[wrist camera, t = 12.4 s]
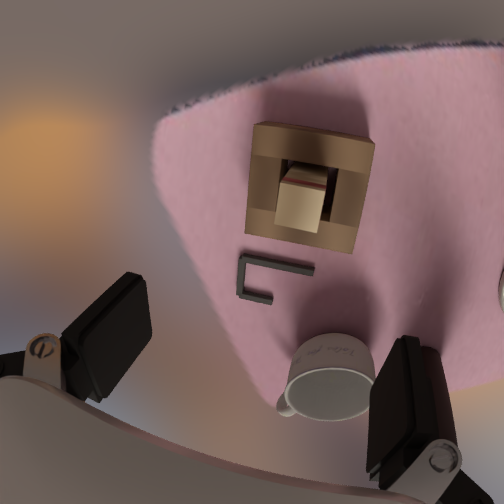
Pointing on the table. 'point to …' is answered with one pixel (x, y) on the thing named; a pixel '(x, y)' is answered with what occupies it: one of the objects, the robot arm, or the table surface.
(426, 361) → the bottle
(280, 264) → the dark gray angular bracket
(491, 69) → the table surface
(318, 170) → the red striped block
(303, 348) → the teacup
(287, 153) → the wooden square socket block
